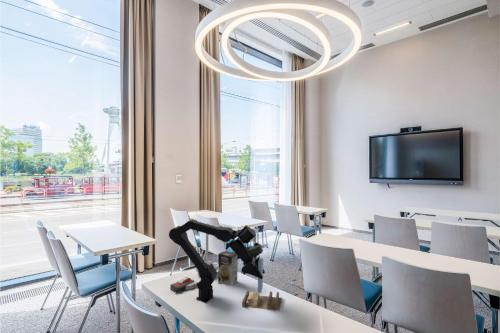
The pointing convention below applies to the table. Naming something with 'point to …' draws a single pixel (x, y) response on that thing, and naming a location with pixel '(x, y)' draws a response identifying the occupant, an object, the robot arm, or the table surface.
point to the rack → (265, 302)
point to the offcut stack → (252, 299)
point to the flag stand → (207, 256)
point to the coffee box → (227, 268)
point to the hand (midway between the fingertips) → (263, 275)
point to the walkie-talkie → (183, 285)
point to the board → (260, 268)
